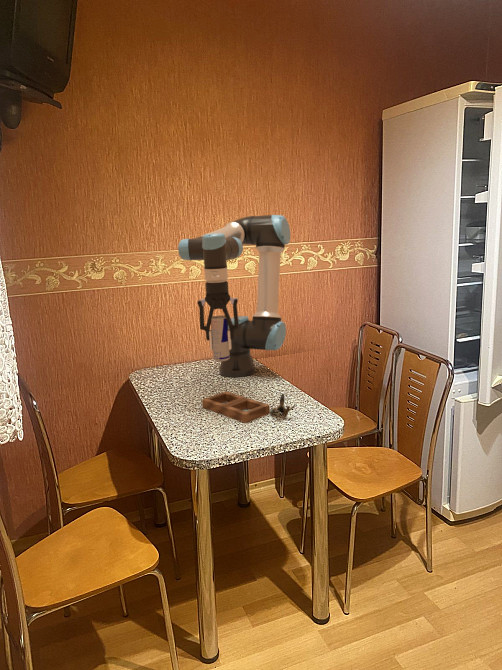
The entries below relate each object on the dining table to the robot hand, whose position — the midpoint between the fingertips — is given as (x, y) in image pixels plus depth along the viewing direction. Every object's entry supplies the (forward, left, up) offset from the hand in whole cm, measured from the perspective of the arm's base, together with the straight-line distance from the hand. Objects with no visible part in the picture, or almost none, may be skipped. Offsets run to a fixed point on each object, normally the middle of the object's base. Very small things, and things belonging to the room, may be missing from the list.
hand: (220, 348), depth 188 cm
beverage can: (0, 0, -4) cm, 4 cm away
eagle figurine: (-7, +20, -21) cm, 30 cm away
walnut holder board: (0, +6, -21) cm, 22 cm away
